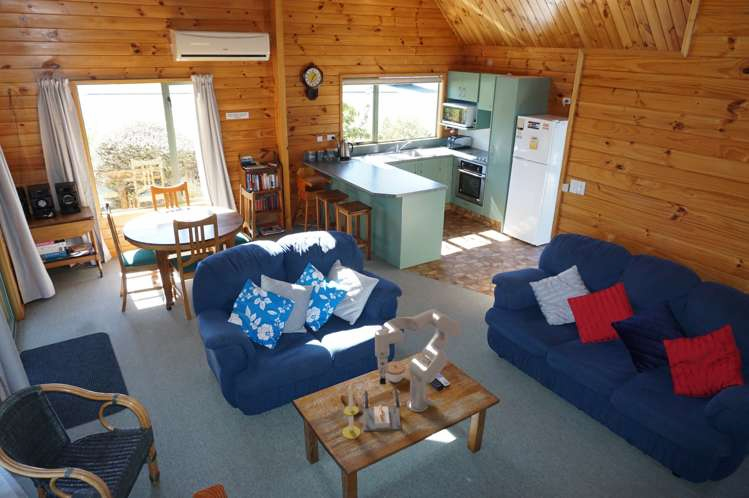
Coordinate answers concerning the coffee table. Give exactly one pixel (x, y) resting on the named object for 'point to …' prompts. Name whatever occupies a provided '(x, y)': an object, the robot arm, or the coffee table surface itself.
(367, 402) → the dark grey rod
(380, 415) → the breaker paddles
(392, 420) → the board
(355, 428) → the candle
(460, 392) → the coffee table surface
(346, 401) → the sunglasses case
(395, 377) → the lidded bowl
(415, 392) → the robot arm
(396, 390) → the dark gray rod
